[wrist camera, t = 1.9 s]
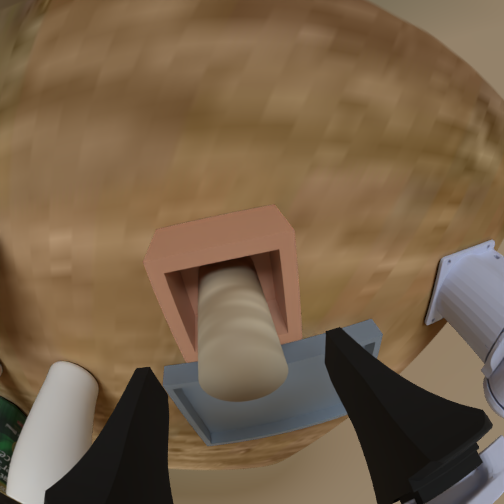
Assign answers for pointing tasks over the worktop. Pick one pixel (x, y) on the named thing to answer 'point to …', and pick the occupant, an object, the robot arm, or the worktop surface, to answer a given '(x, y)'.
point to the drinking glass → (53, 432)
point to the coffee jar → (8, 442)
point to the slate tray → (275, 404)
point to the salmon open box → (220, 249)
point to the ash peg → (236, 334)
